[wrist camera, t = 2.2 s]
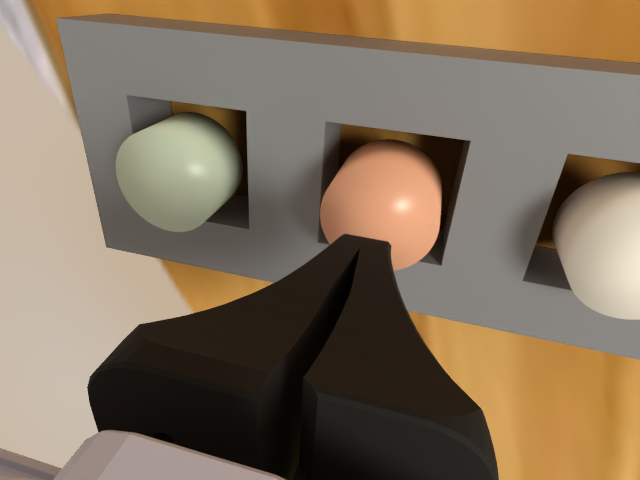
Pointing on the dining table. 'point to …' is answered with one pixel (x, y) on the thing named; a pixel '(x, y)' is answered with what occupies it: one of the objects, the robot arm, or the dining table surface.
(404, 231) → the button terracotta
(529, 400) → the dining table surface
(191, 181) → the button sage
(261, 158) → the button panel
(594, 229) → the button cream
